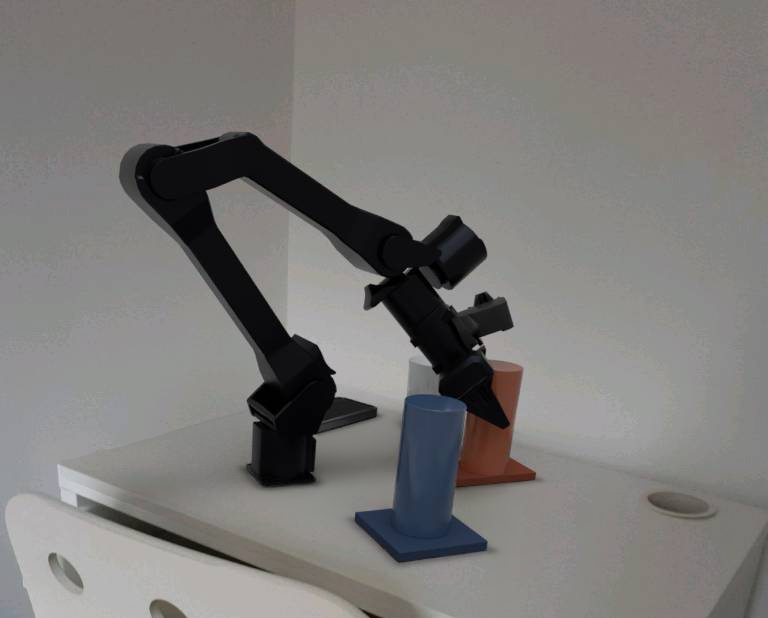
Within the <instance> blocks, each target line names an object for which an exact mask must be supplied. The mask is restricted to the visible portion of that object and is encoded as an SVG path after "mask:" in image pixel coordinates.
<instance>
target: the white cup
mask: <svg viewBox="0 0 768 618" xmlns="http://www.w3.org/2000/svg"><path fill="white" fill-rule="evenodd" d="M407 370H408V371H407V383H406V385H407V386H406V397H407V396H410V395H417V394H432V395H440V394H439V392H438V378H439V374H438V375H436V373H435V372H434V371H433V370H432V365H431V363H430V362H429V361H428V360H427V358H426V357H425V356H424V355H423V354H413V355H411V356H409V357H408V369H407ZM440 396H441V395H440Z"/></svg>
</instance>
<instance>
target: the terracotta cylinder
mask: <svg viewBox="0 0 768 618" xmlns="http://www.w3.org/2000/svg"><path fill="white" fill-rule="evenodd" d="M488 361H489V362H490V364H491V365H492V367H493V369H494V377H493V382H492V389H493V391H494V393H495V395H496V397H497V399H498V401H499V403H500V405H501V406H502V408H503V410H504V412H505V414H506V416H507V418H508V420H509V422H510V425H509V426H508V427H507V428H505V429H501V428H499V427H497V426H495V425H493V424H491V423H489V422H487V421H485V420H483V419H481V418H479V417H477V416H475V415H473V414H471V413H469V412H467V411H466V415H465V422H464V430H463V437H462V444H461V451H460V458H459V461H460V463H459V465H460V467H461V468H462V469H464V470H466V471H468V472H470V473H474V474H478V475H484V476H499V475H503V474H505V473H506V472H507V469H508V463H509V457H510V458H511V456H510V455H511V449H512V443H513V438H514V431H515V425H516V419H517V413H518V407H519V400H520V394H521V389H522V382H523V378H524V377H523V376H524V371H525V370H524V369H525V368H524V367H523V366H522V365H520V364H517V363H514V362H511V361H505V360H500V359H488Z"/></svg>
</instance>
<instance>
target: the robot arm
mask: <svg viewBox="0 0 768 618" xmlns="http://www.w3.org/2000/svg"><path fill="white" fill-rule="evenodd" d="M118 179H119V184H120V186H121V187H122V189H123V191H124V193H125V194H126V195H127V196H128V197H129V199H131V200H132V201H133V202H134V203H135V205H137V207H138V208H140V209H141V211H142V212H144V214H145V215H146V216H148V218H149V219H150V220H152V222H154V224H156V225H157V226H158V227H159V228H161V229H162V230H163V231H164V232H165V233H166V234H167V235H168V236H169V237H170V238H171V239H173V241H175V242H176V243H177V244H178V245H179V247H180V248H181V249H182V251H183V252H184V254H185V255H186V256H187V258H188V259H189V261H190V262H191V264H192V265H193V266H194V268H195V269H196V271H197V272H198V274H199V275H200V277H201V278H202V279H203V281H204V282H205V284H206V285H207V287H208V288H209V289H210V291H211V292H212V294H213V295H214V296H215V298H216V299H217V301H218V302H219V303H220V305H221V306H222V308H223V309H224V311H225V312H226V314H227V315H228V317H229V318H230V319H231V321H232V322H233V323H234V325H235V327H237V329H238V330H239V332H240V333H241V335H242V336H243V337H244V339H245V340H246V342H247V343H248V345H249V346H250V347H251V349H252V350H253V352H254V356H255V360H256V364H257V367H258V371H259V373H260V375H261V378H262V380H263V382H262V383H261V384H260V385H259V386H258V387H257V388H256V389H255V390H253V392H252V393H251V395H249V396H248V397H247V398H246V405H247V407H248V410H249V413H250V415H251V416H252V417H254V418H256V419H257V421H256V420H255V421H253V422H252V433H251V434H252V436H251V462H247V463H246V464H245V469H246V470H247V471H248V472H249V473H250V474H251V475H252V476H253V478H255V480H256V481H257V482H258V483H259V484H260V485H261V486H263V487H275V486H276V487H277V486H288V485H298V484H299V485H300V484H310V483H316V482H317V477H316V476H315V475H314V474H312V473H314V472H315V467H316V455H317V454H316V453H317V439H316V437H315V435H317V434H318V433H319V432H318V431H319V428H320V426H321V423H322V421H323V418H324V416H325V413H326V412H327V411H328V409H329V408H330V407H331V405H332V403H333V401H334V399H335V397H336V394H337V392H338V388H337V384H336V382H335V379H334V378H333V376H334V375H336V374H337V371H336V370H334V369H333V368H331V367H330V366H329V364H328V363H327V361H326V359H325V356H324V354H323V352H322V350H321V348H320V346H319V345H318V344H317V343H315V342H313V341H311V340H309V339H307V338H305V337H303V336H301V335H299V334H297V333H294V334H293V335H292V336H290V334H289V332H288V331H287V330H286V328H285V326H284V325H283V323H282V322H281V320H280V318H279V317H278V316H277V315H276V313H275V311H274V309H273V308H272V307H271V305H270V304H269V302H268V301H267V300H266V298H265V297H264V295H263V293H262V292H261V290H260V288H259V287H258V286H257V284H256V283H255V281H254V280H253V278H252V277H251V275H250V274H249V272H248V271H247V269H246V268H245V266H244V264H243V263H242V262H241V260H240V258H239V257H238V255H237V254H236V252H235V251H234V249H233V248H232V247H231V245H230V243H229V242H228V240H227V239H226V237H225V236H224V235H223V233H222V231H221V229H220V227H218V224H217V222H216V219H215V215H214V212H213V208H212V205H211V201H210V198H209V195H208V192H207V191H211V190H213V189H217V188H219V187H221V186H224V185H226V184H229V183H231V182H233V181H236V180H238V179H240V180H241V181H242V182H244V183H246V184H247V185H248V186H250V187H252V188H253V189H255V190H257V191H258V192H259V193H261V194H262V195H264V196H266V197H267V198H268V199H270V200H272V201H273V202H275V203H276V204H277V205H279V206H281V207H283V208H284V209H286V210H287V211H288V212H290V213H292V214H293V215H295V216H296V217H297V218H299V219H301V220H303V221H304V222H306V223H307V224H309V225H310V226H311V227H313V228H314V229H316V230H317V231H319V232H320V233H322V235H323V236H324V237H326V238H327V239H328V241H329V242H330V243H331V245H332V246H333V247H334V249H335V250H336V251H337V252H338V253H339V254H340V255H341V256H342V257H343V258H344V259H345V260H347V261H348V262H349V264H351V265H352V266H353V267H354V268H355V269H358V270H360V271H363V272H366V273H370V274H373V275H376V276H379V277H382V278H383V279H382V280H381V281H380V282H379V283H378V284H373V283H369V284H366V285H365V286H364V287H363V291H364V300H363V306H362V307H363V310H364V311H370V310H372V309H374V308H376V307H377V306H378V305H379V304H380V303H381V304H382V305H383V306H384V307H385V309H386V310H387V311H388V312H389V314H390V315H391V316H392V318H393V319H394V320H395V321H396V323H397V324H398V325H399V326H400V327H401V329H402V330H403V331H404V332H405V333H406V335H407V336H408V337H409V342H410V344H411V345H412V346H413V348H414V349H416V348H417V349H418V350H419V351H420V352H421V353H422V355H424V356H425V357H426V358H427V360H428V361H429V362H430V363H431V365H432V370H433V371H434V372H435V373H436V375H438V374H439V378H438V392H439V394H440V395H441V396H446V397H450V398H454V399H457V400H460V401H462V402H463V403H465V404H466V406H467V408H466V413H467V412H469V413H471V414H473V415H475V416H477V417H479V418H481V419H483V420H485V421H487V422H489V423H491V424H493V425H495V426H497V427H499V428H501V429H505V428H507V427H508V426H509V425H510V422H509V420H508V418H507V416H506V414H505V412H504V410H503V408H502V406H501V405H500V403H499V401H498V399H497V397H496V395H495V393H494V391H493V389H492V382H493V377H494V369H493V367H492V365H491V364H490V362H489V361H488V360H489V359H488V357H487V355H486V354H487V348H486V346H485V344H484V340H483V339H482V338H483V337H486V336H489V335H492V334H495V333H498V332H506V331H509V330H512V329H513V328H514V327H515V325H514V322H513V318H512V314H511V311H510V307H509V304H508V301H507V299H506V297H504V296H497V297H496V298H494V297H493V296H492V295H491V294H490V293H489V292H488V291H483V292H480V293H477V294H475V295H474V299H473V304H472V306H468V307H467V308H466V309H463V310H460V311H457V309H455V307H454V306H453V304H450V305H449V303H446V302H445V300H444V299H443V298H442V297H441V295H440V294H439V292H438V291H436V290H441V289H444V290H446V291H453V289H455V288H456V287H457V286H458V285H460V283H461V282H463V281H464V280H465V279H466V278H467V277H468V276H469V275H471V274H472V273H473V272H474V271H475V270H476V269H477V268H478V267H480V265H482V264H483V263H484V262H485V261H486V260H487V258H488V249H487V247H486V245H485V242H484V240H483V239H482V238H480V237H479V235H477V233H476V232H475V231H474V230H473V229H472V228H471V227H469V226H468V225H467V224H465V223H464V221H463V219H462V218H461V216H460V215H456V214H447V215H446V216H445V217H444V218H443V219H442V220H441V221H440V223H439V224H438V225H437V226H436V227H435V228H434V229H433V230H432V231H431V232H430V233H428V235H426V236H425V237H424V238H423V239H422V240H417V239H414V237H413V235H412V233H411V232H410V230H409V229H407V227H406V226H404V225H402V224H399V223H397V222H395V221H393V220H390V219H388V218H385V217H383V216H381V215H379V214H376V213H373V212H371V211H368V210H365V209H362V208H361V207H358V206H355V205H353V204H351V203H349V202H348V201H347V200H345V199H343V198H342V197H340V196H339V195H337V194H336V193H335V192H333V191H332V190H331V189H330V188H327V187H326V186H325V185H323V184H322V183H321V182H319V181H318V180H317V179H315V178H313V177H312V176H310V175H309V174H308V173H306V172H305V171H303V170H302V169H300V167H298V166H296V165H295V164H293V163H292V162H290V161H289V160H288V159H286V158H285V157H284V156H282V155H280V154H279V153H277V152H276V151H275V150H273V149H272V148H271V147H268V145H266V144H265V143H264V141H262V140H261V139H260V137H258V135H256V134H255V133H252V132H250V131H232V130H231V131H227V132H224V133H222V135H219V136H216V137H211V138H207V139H202V140H197V141H194V142H189V143H184V144H178V145H174V146H173V145H169V144H164V143H152V142H151V143H150V142H145V143H138V144H136V145H134V146H132V147H130V148H128V150H127V151H126V152H125V153H124V154H123V156H122V159H121V161H120V163H119V172H118ZM476 346H479V347H478V348H477V349H474V348H475V347H476Z"/></svg>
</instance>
